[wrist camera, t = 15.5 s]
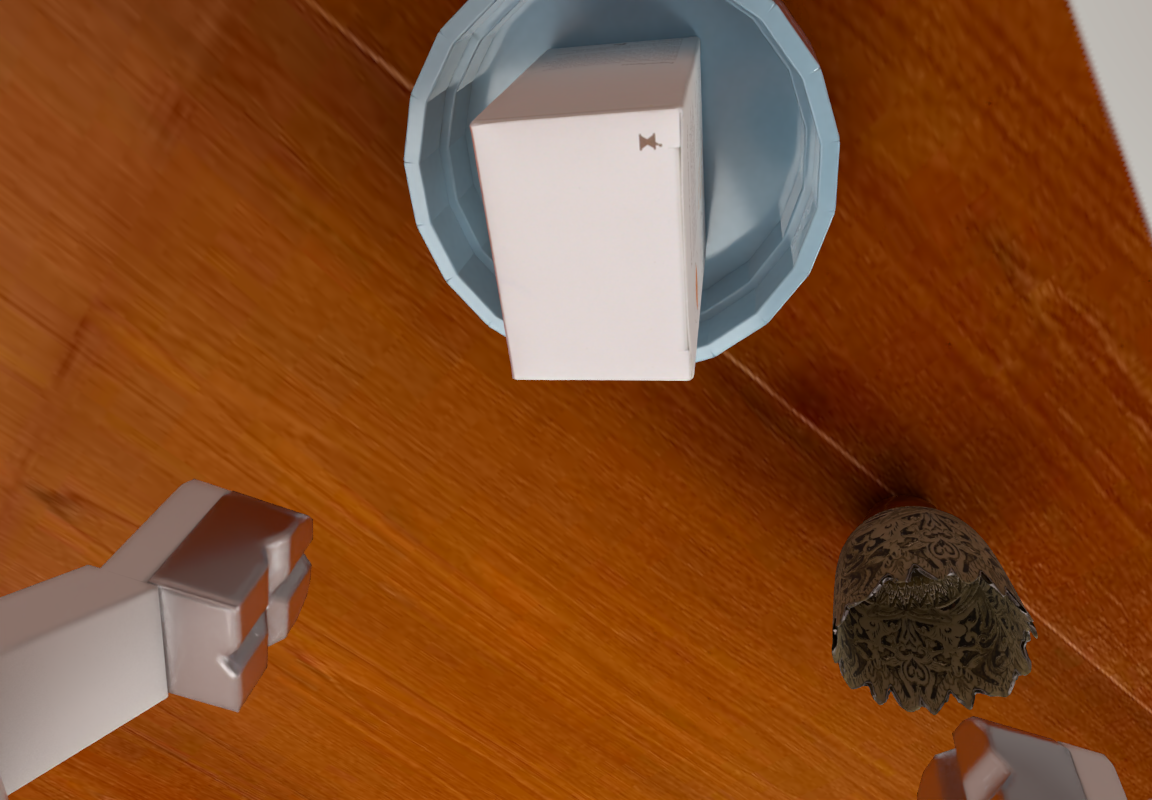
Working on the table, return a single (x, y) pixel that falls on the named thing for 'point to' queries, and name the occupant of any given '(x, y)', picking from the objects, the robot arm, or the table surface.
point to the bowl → (730, 142)
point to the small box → (598, 211)
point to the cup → (926, 610)
